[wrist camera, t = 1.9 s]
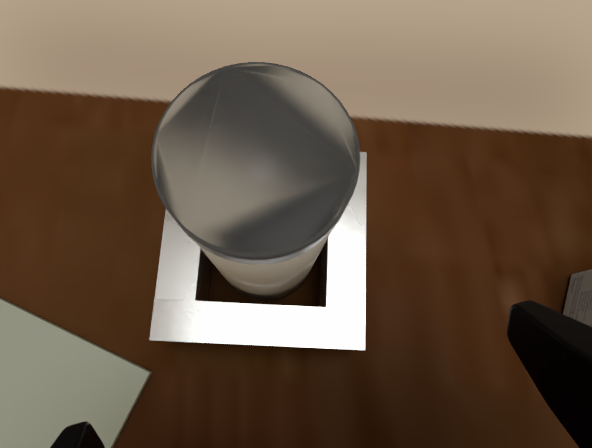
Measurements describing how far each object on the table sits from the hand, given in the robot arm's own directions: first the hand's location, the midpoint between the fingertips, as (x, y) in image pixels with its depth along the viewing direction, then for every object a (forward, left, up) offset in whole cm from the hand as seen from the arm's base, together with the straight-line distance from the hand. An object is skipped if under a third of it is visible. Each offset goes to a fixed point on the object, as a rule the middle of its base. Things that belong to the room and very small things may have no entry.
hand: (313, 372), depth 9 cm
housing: (+3, -4, -13) cm, 14 cm away
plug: (+3, -4, -13) cm, 14 cm away
